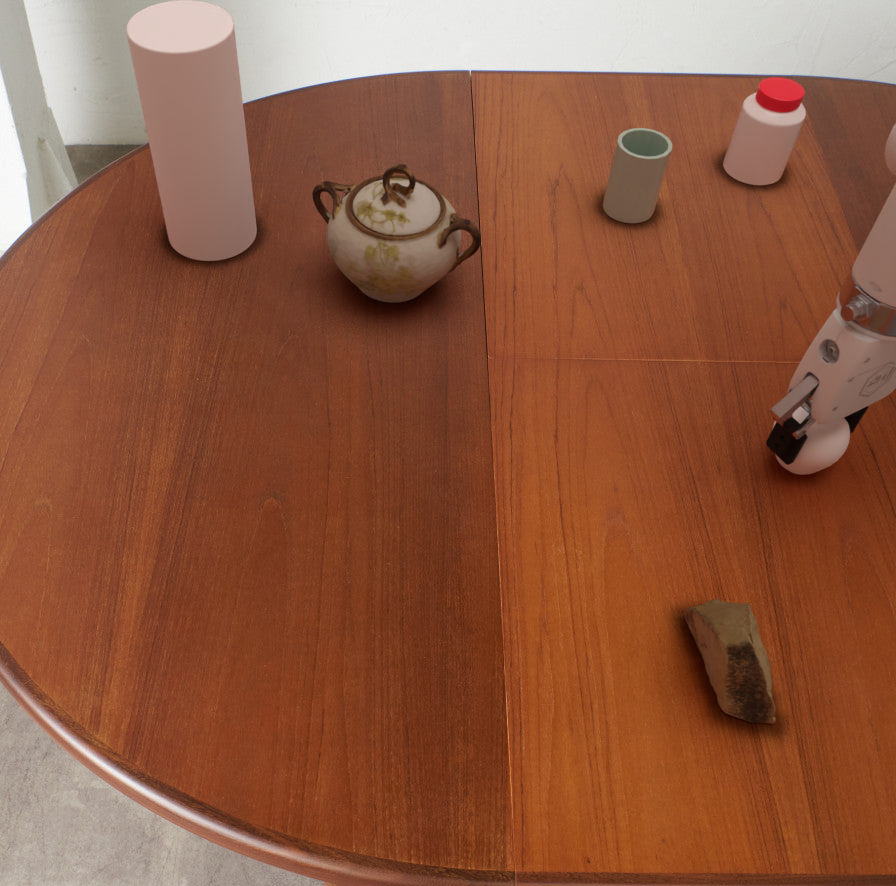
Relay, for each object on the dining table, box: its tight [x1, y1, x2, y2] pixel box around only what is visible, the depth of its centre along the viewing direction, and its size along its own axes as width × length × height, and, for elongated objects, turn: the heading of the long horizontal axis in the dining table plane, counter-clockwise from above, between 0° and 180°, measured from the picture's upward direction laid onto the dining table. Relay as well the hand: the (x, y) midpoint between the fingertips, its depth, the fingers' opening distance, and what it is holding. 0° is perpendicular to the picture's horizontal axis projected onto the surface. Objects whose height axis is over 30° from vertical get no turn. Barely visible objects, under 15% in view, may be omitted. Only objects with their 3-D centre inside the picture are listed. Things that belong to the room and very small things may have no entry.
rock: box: [683, 598, 777, 725], centre depth 78 cm, size 11×9×10 cm
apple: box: [771, 400, 851, 476], centre depth 91 cm, size 7×7×8 cm
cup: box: [602, 127, 673, 224], centre depth 115 cm, size 6×6×9 cm
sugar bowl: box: [311, 163, 482, 304], centre depth 103 cm, size 20×15×15 cm
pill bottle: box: [722, 76, 807, 186], centre depth 120 cm, size 8×8×11 cm
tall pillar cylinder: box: [125, 0, 258, 262], centre depth 104 cm, size 11×11×25 cm
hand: (808, 438), depth 92 cm, fingers closed on apple, 7 cm apart
